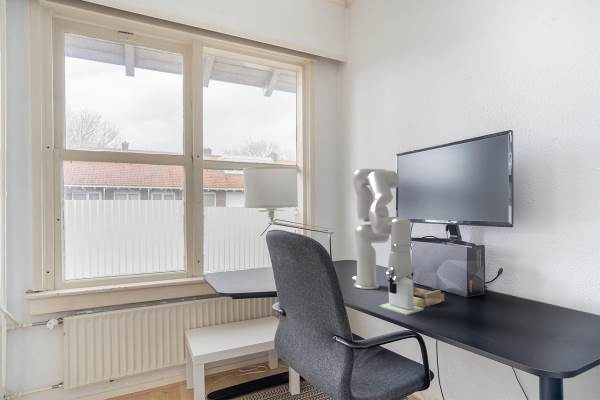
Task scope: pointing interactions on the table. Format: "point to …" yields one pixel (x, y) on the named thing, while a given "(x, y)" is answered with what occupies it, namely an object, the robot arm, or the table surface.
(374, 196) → the robot arm
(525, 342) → the table surface
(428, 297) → the tray
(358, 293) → the table surface
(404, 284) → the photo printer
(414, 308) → the green mat
